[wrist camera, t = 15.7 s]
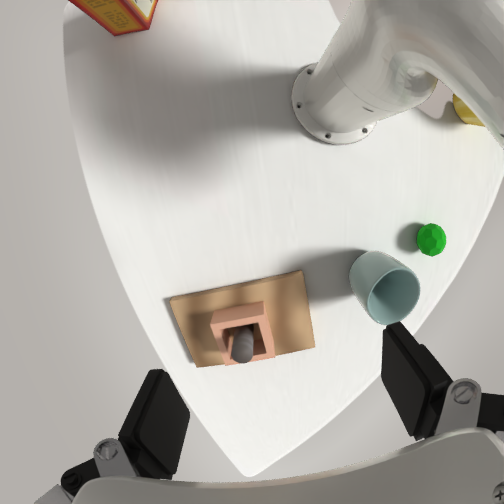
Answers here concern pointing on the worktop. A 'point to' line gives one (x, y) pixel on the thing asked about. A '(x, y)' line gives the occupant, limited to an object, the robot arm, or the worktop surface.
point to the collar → (237, 318)
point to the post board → (241, 294)
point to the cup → (384, 287)
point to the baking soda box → (119, 14)
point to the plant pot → (465, 112)
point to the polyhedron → (431, 239)
